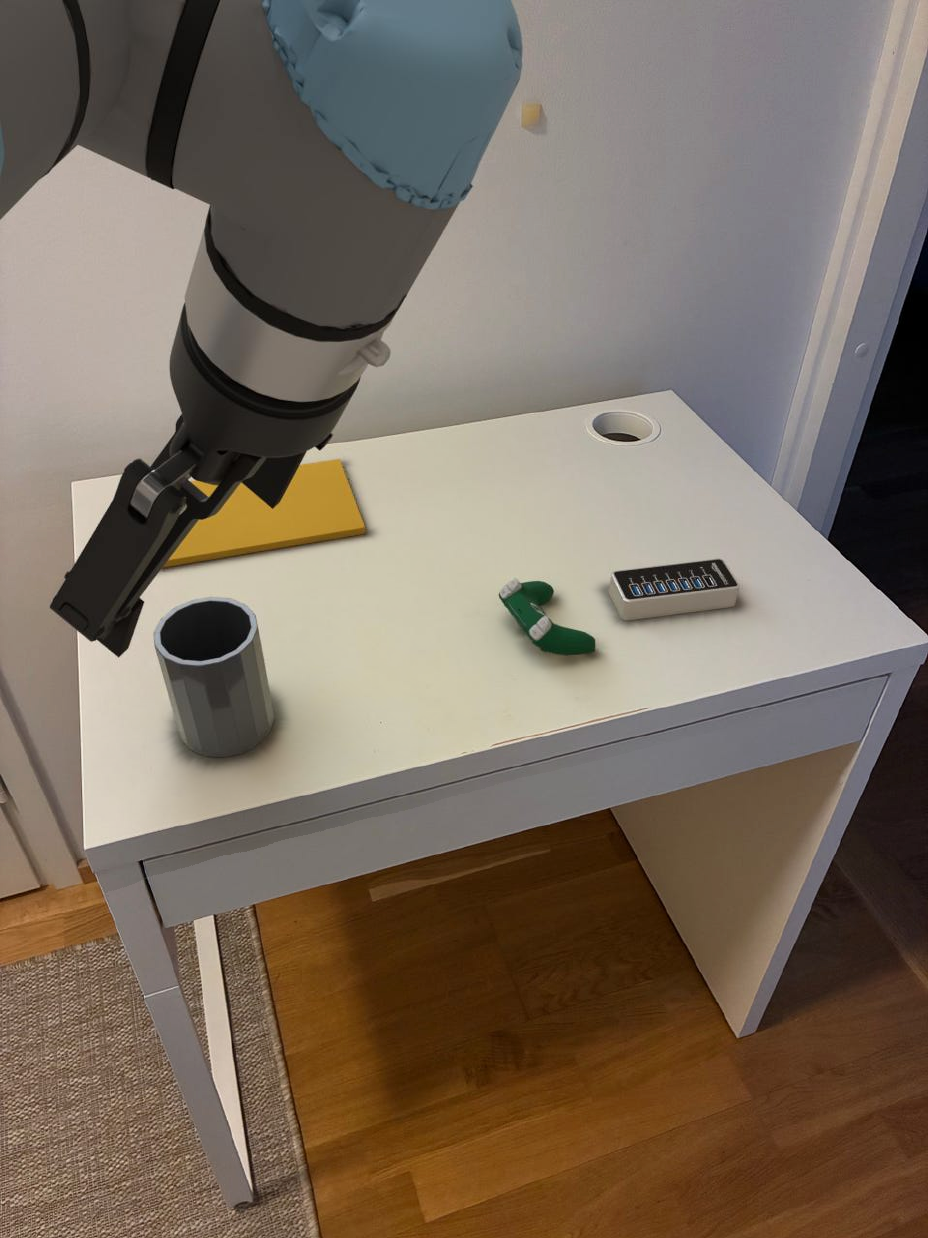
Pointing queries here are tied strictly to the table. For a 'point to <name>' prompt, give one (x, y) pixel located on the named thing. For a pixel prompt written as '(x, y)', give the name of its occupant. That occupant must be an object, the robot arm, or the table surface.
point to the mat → (275, 517)
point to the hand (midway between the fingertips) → (187, 559)
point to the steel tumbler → (215, 675)
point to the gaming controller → (542, 619)
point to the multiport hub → (673, 589)
